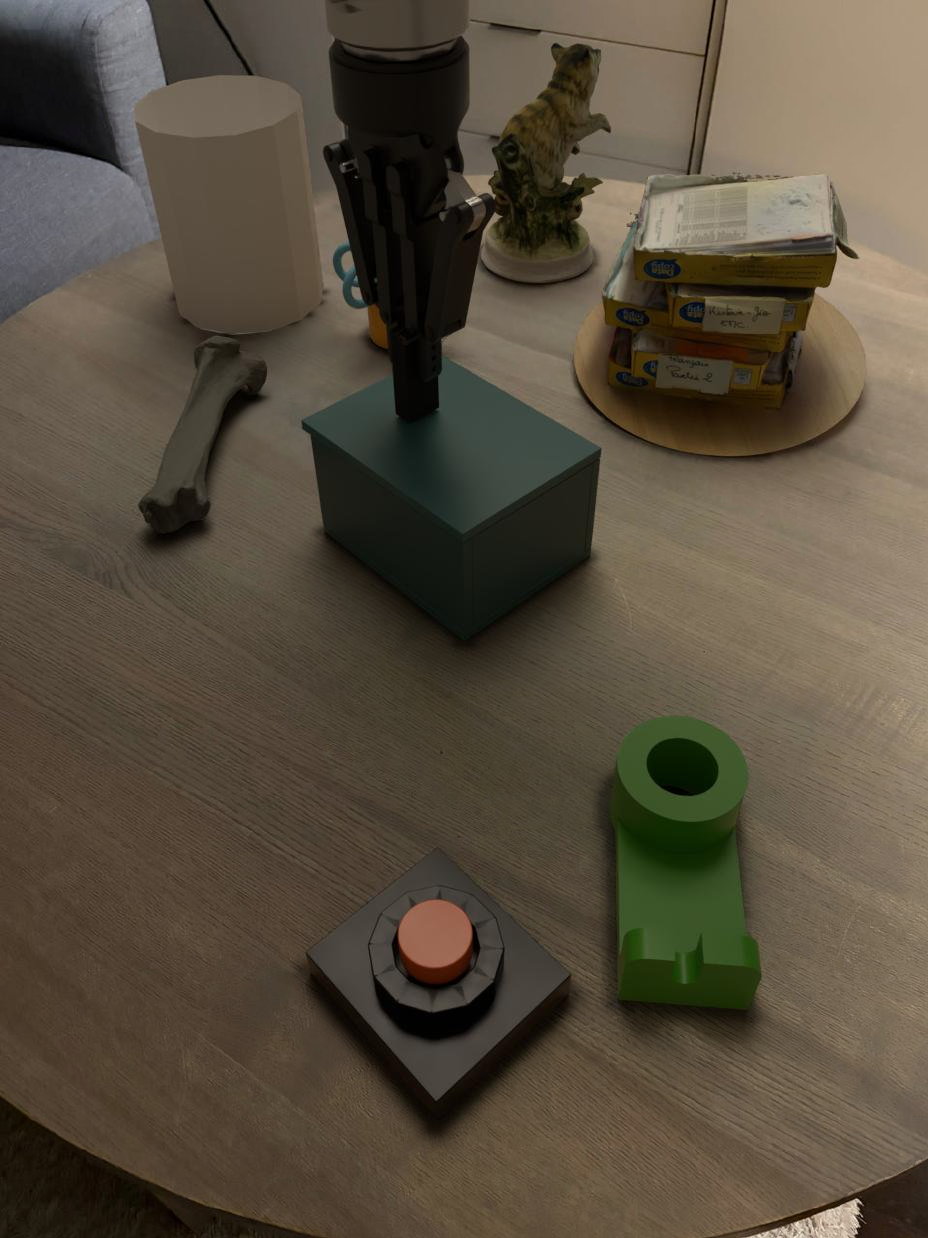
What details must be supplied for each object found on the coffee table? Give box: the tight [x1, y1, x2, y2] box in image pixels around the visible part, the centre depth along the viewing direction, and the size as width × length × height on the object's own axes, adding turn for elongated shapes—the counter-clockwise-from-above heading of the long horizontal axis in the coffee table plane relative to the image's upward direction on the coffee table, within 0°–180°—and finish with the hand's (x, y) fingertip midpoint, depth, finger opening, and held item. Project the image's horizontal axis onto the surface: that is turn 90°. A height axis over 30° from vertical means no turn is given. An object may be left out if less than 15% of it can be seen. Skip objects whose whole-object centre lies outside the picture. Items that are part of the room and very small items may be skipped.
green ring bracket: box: [609, 715, 763, 1011], centre depth 56 cm, size 15×7×5 cm, turn 175°
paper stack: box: [573, 170, 868, 457], centre depth 87 cm, size 25×25×17 cm
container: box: [132, 74, 324, 335], centre depth 97 cm, size 14×14×18 cm
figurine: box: [480, 42, 612, 284], centre depth 101 cm, size 12×14×20 cm
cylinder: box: [332, 241, 388, 350], centre depth 92 cm, size 12×10×15 cm
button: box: [398, 899, 473, 985], centre depth 51 cm, size 4×4×2 cm
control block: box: [305, 846, 572, 1120], centre depth 52 cm, size 10×9×4 cm
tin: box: [309, 434, 601, 641], centre depth 74 cm, size 16×13×9 cm
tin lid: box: [301, 354, 602, 543], centre depth 71 cm, size 16×13×1 cm
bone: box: [137, 335, 268, 535], centre depth 83 cm, size 22×6×6 cm, turn 176°
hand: (417, 410), depth 72 cm, fingers closed
